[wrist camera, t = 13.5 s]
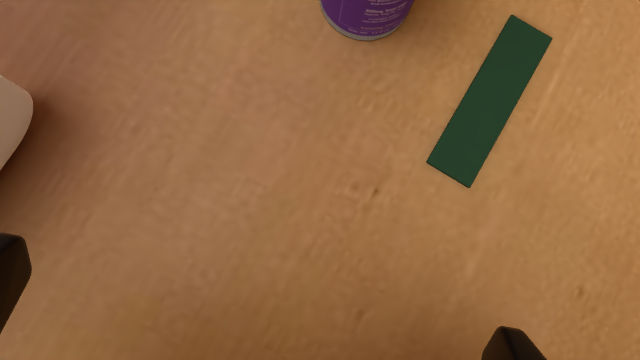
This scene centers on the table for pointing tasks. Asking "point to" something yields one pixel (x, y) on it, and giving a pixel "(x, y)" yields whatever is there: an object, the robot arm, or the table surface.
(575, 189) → the table surface
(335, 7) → the container
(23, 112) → the cable organizer
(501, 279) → the table surface
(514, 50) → the pointer strip
